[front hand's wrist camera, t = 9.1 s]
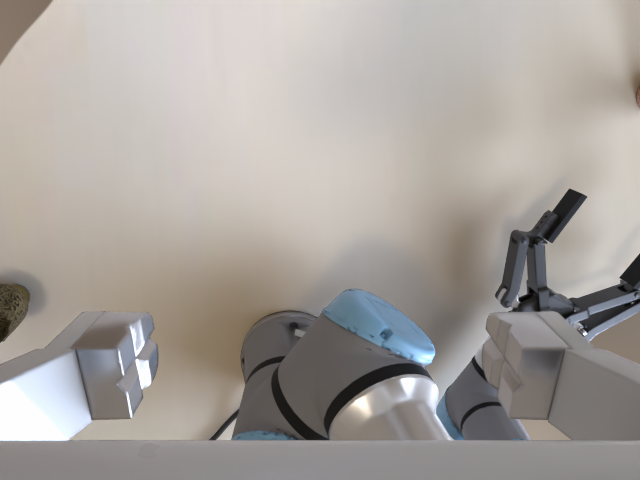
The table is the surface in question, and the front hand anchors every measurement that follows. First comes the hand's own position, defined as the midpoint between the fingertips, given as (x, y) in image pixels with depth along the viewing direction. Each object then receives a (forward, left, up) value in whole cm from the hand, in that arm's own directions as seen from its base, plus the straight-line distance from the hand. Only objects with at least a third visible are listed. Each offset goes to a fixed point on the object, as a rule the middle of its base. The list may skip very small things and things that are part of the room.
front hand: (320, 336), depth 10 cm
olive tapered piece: (+21, -45, -47) cm, 68 cm away
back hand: (+11, +36, -40) cm, 55 cm away
